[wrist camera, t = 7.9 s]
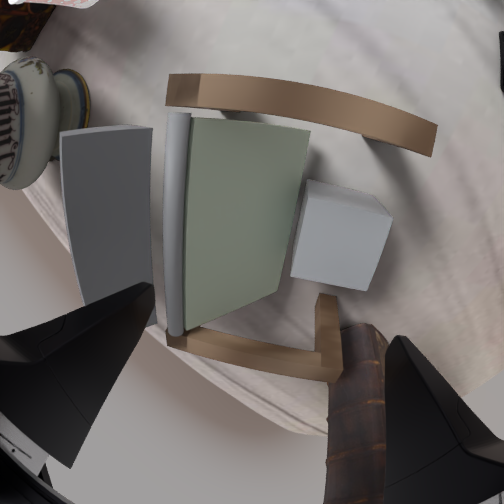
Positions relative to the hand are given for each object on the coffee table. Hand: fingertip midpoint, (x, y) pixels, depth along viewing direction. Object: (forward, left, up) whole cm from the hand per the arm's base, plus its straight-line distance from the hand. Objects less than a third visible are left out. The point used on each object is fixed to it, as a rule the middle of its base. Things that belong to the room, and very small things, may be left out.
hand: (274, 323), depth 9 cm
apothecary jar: (+24, -6, -12) cm, 27 cm away
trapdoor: (+8, 0, -8) cm, 11 cm away
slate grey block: (-1, 0, -10) cm, 10 cm away
